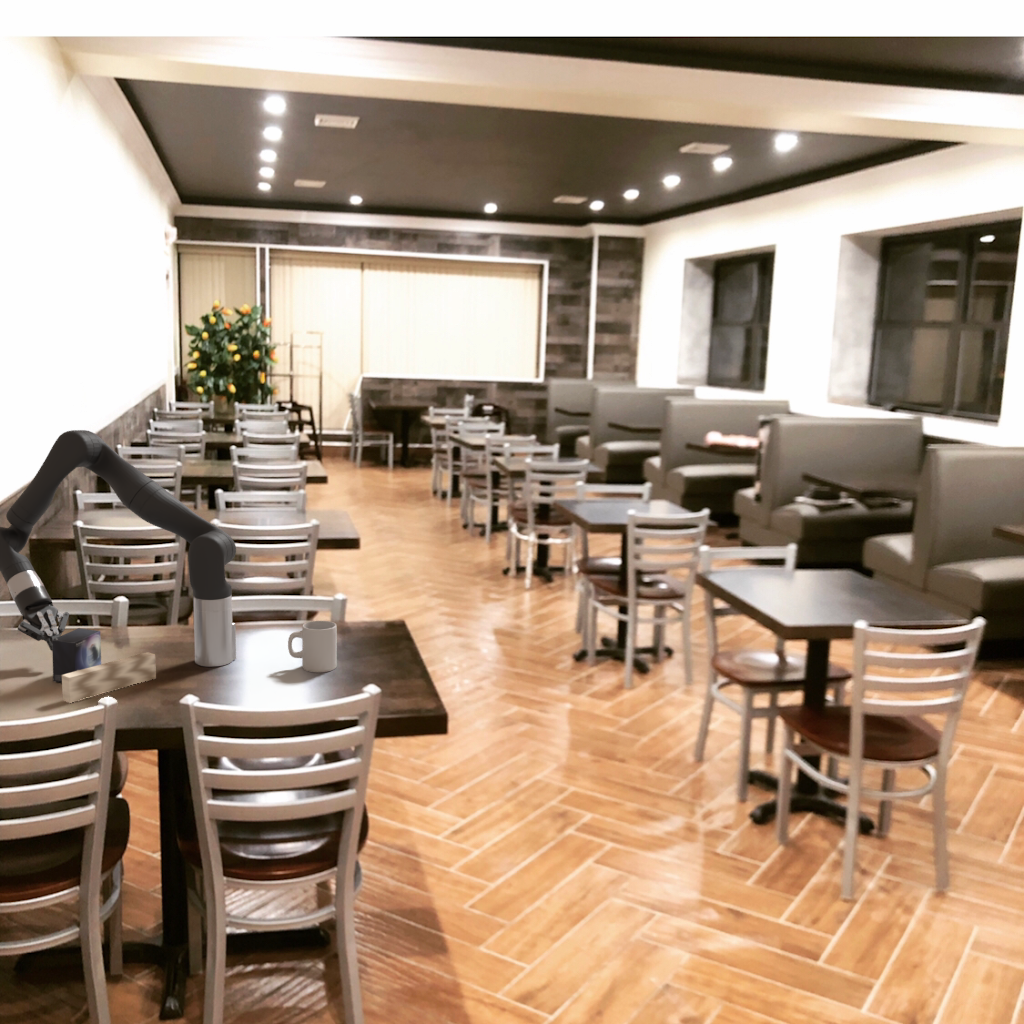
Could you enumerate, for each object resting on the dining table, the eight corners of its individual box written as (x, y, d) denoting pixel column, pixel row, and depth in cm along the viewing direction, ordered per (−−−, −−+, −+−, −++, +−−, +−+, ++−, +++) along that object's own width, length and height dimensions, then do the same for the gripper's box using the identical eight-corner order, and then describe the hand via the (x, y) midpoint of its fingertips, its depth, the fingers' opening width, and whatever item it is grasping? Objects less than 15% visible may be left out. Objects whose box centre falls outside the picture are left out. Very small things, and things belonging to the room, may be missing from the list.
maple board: (148, 675, 243) (147, 651, 242) (156, 678, 242) (155, 654, 241) (62, 700, 226) (61, 674, 225) (70, 703, 224) (69, 677, 223)
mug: (336, 661, 259) (336, 620, 257) (337, 672, 250) (337, 629, 249) (288, 662, 256) (288, 621, 254) (287, 673, 248) (287, 630, 246)
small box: (76, 685, 236) (74, 642, 234) (51, 682, 237) (49, 639, 235) (103, 671, 246) (101, 629, 244) (79, 668, 247) (77, 627, 245)
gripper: (8, 589, 243) (38, 648, 238) (59, 579, 253) (89, 636, 249) (-3, 607, 247) (27, 665, 242) (49, 596, 257) (78, 652, 253)
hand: (59, 650), depth 245 cm, fingers closed
